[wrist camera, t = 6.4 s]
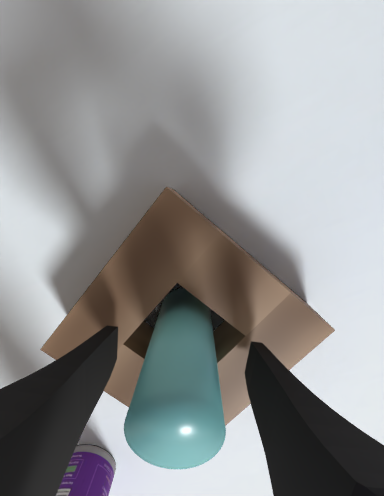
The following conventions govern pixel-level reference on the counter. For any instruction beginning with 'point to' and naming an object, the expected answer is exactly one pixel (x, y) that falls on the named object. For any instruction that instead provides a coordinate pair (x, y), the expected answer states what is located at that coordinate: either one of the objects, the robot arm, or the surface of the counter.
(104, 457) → the container
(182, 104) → the counter surface
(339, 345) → the counter surface
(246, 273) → the socket block
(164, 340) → the peg
